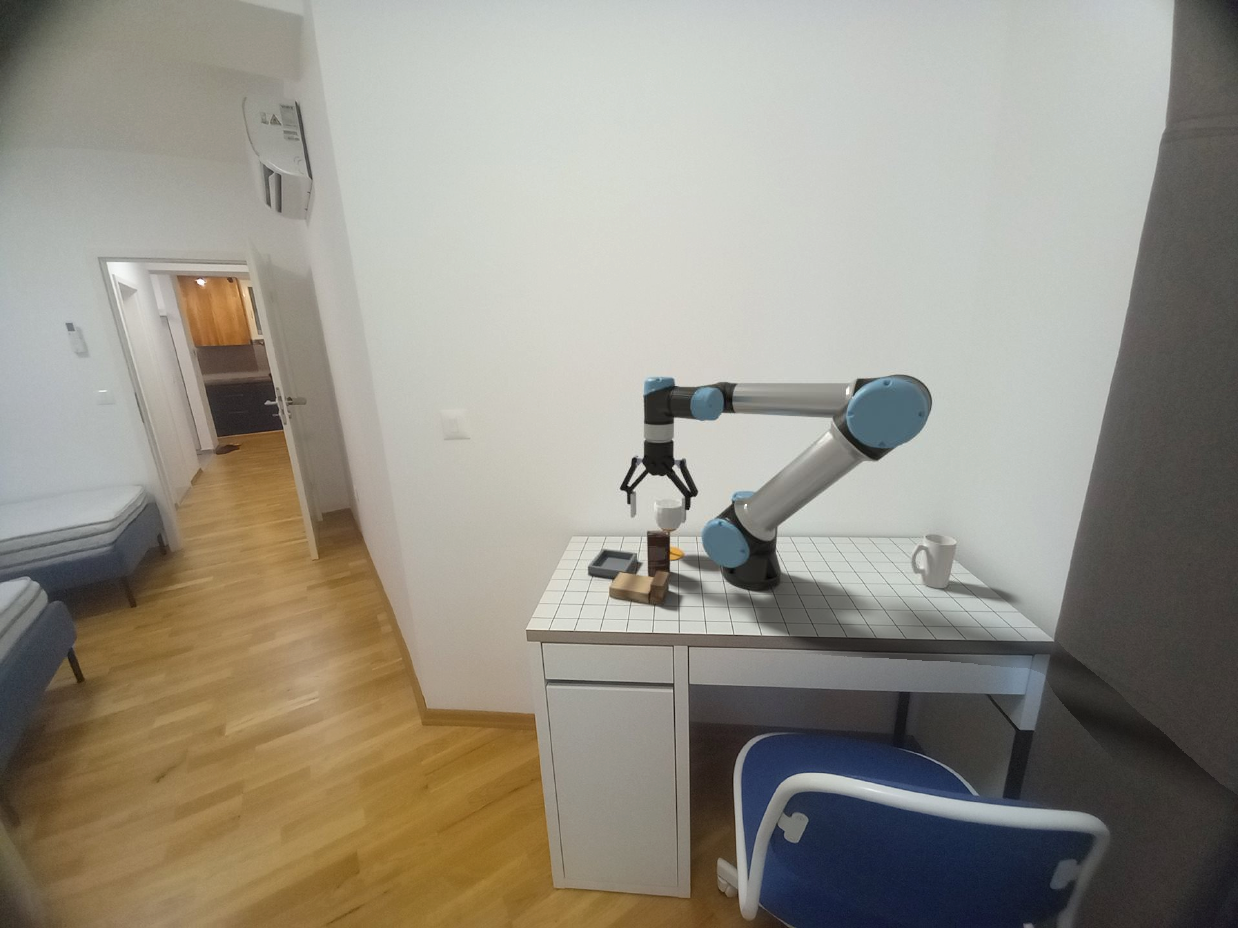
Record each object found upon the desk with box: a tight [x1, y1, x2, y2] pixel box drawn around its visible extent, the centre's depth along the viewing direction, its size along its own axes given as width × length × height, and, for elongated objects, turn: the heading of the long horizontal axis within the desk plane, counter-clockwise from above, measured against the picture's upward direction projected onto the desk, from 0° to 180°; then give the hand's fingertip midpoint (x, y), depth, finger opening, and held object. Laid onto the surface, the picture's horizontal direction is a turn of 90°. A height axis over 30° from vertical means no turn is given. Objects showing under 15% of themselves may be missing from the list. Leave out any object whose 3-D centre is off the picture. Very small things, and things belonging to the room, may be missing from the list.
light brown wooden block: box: [608, 572, 654, 604], centre depth 113 cm, size 10×8×3 cm
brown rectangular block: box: [649, 571, 670, 606], centre depth 110 cm, size 3×7×5 cm, turn 162°
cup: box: [653, 497, 685, 561], centre depth 132 cm, size 9×9×16 cm
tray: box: [587, 548, 638, 580], centre depth 125 cm, size 11×12×2 cm
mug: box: [910, 533, 958, 589], centre depth 113 cm, size 10×7×12 cm, turn 91°
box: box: [646, 530, 671, 578], centre depth 120 cm, size 6×4×12 cm
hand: (658, 518), depth 118 cm, fingers open, 13 cm apart
